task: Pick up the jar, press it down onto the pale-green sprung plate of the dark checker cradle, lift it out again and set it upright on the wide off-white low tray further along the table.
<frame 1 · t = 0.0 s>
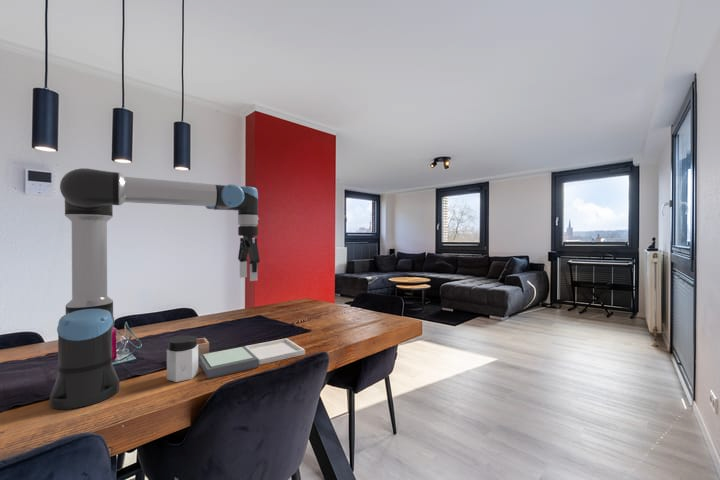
hand: (248, 279, 132), 28 cm above the table, fingers open, 13 cm apart
sprung plate: (227, 357, 115), point 3 cm above the table, slide at -0.4 cm
tray: (274, 352, 128), on the table
jar: (182, 377, 106), on the table
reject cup: (195, 358, 122), on the table
cradle: (227, 365, 115), on the table
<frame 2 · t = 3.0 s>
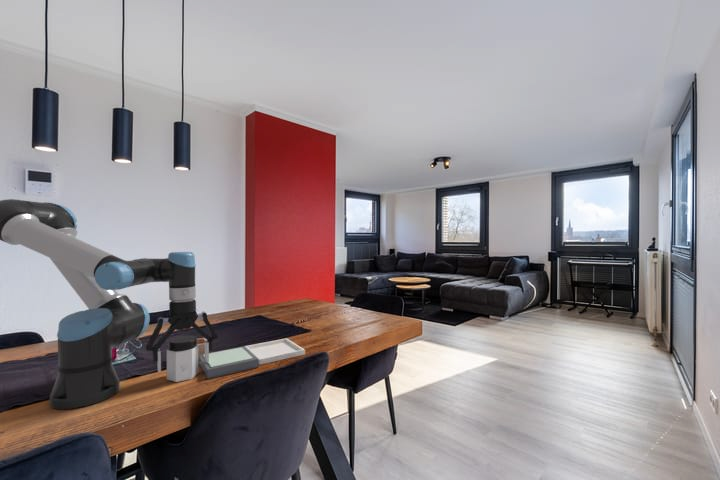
hand: (183, 366, 106), 3 cm above the table, fingers open, 13 cm apart
sprung plate: (227, 357, 115), point 3 cm above the table, slide at -0.5 cm, touching gripper
everything else where it was.
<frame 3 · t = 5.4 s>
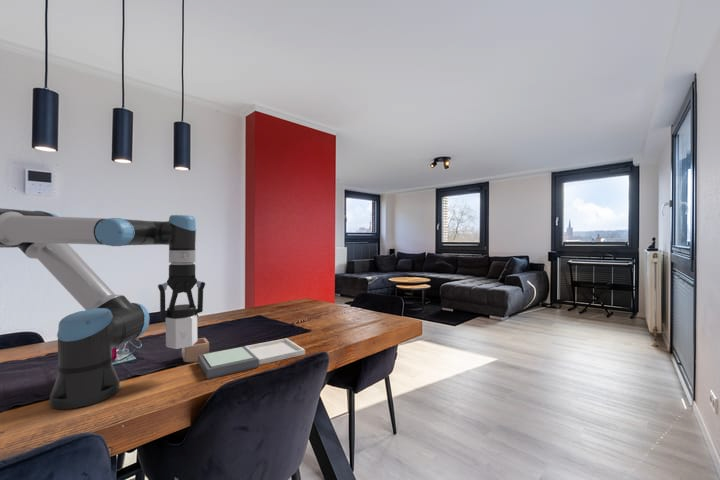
hand: (181, 336, 106), 13 cm above the table, fingers closed on jar, 4 cm apart
sprung plate: (227, 357, 115), point 3 cm above the table, slide at -0.4 cm
jar: (182, 344, 106), point 10 cm above the table, touching gripper
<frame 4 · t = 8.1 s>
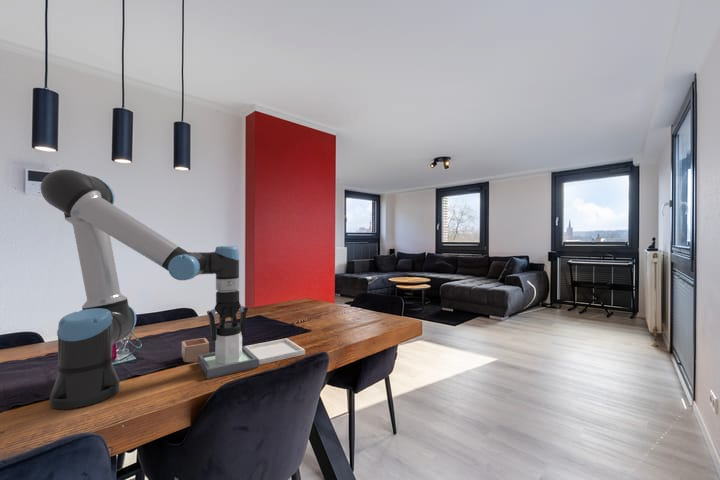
hand: (228, 357, 115), 3 cm above the table, fingers closed on jar, 3 cm apart
sprung plate: (227, 361, 115), point 2 cm above the table, slide at -1.7 cm, touching jar
jar: (229, 360, 115), point 2 cm above the table, touching gripper, sprung plate
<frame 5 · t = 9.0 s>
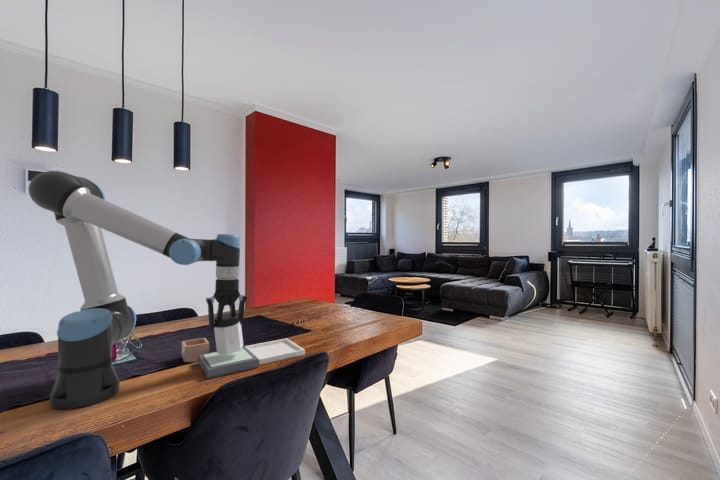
hand: (225, 345, 115), 7 cm above the table, fingers closed on jar, 3 cm apart
sprung plate: (227, 357, 115), point 3 cm above the table, slide at -0.5 cm
jar: (230, 350, 115), point 5 cm above the table, touching gripper
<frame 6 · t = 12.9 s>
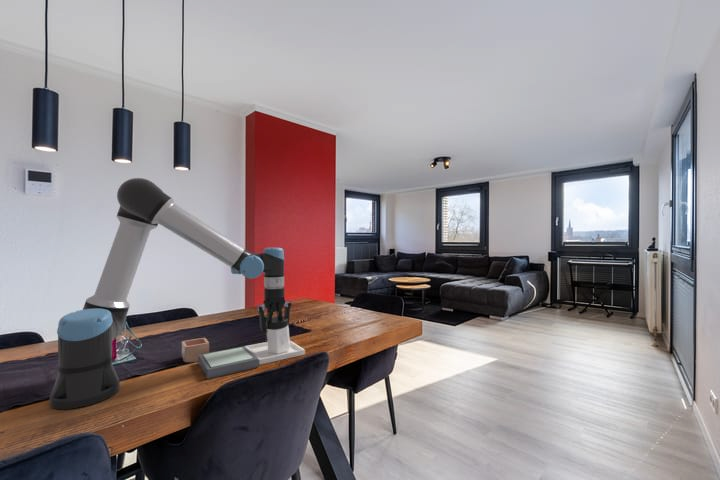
hand: (274, 347, 128), 2 cm above the table, fingers open, 3 cm apart
jar: (279, 349, 129), point 1 cm above the table, touching gripper, hand, tray
everything else where it was.
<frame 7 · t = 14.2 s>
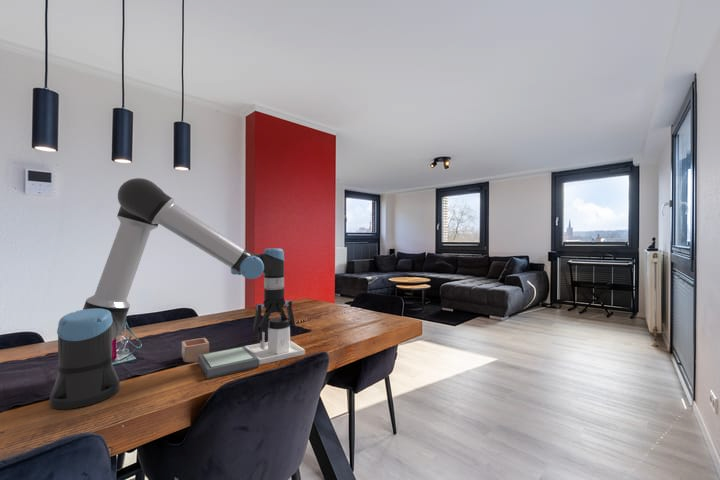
hand: (274, 346, 128), 2 cm above the table, fingers open, 9 cm apart
jar: (279, 350, 128), resting on tray
everything else where it was.
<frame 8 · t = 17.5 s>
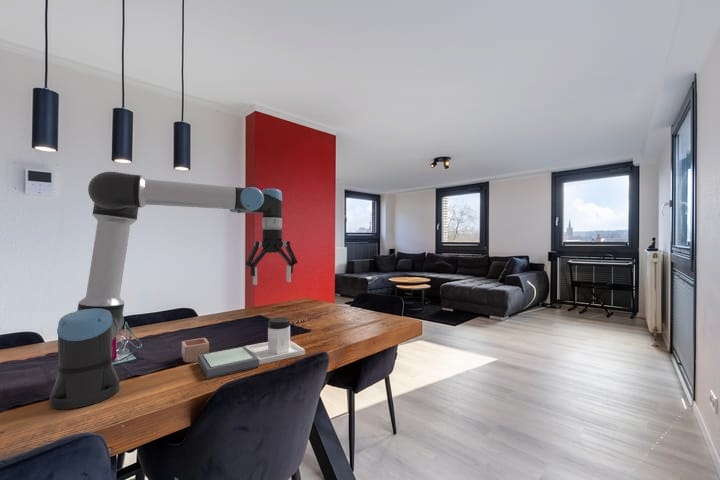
hand: (272, 283, 129), 27 cm above the table, fingers open, 13 cm apart
nothing on the table moved.
at the end: jar inside the target area on the tray (1.9 cm from its centre), point 0.4 cm above the tray's base; jar tilted 0°; the gripper is holding nothing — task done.
